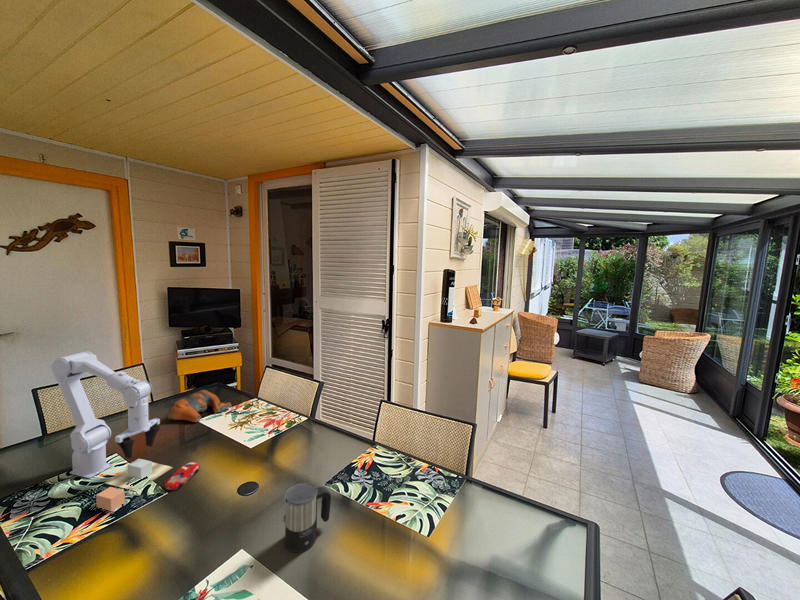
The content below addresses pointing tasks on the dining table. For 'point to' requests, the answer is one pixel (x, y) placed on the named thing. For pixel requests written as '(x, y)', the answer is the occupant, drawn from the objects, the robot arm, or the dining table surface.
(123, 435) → the robot arm
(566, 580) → the dining table surface
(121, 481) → the plate
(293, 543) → the milk frother
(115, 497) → the terracotta block
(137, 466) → the light grey block
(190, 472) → the race car
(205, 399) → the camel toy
